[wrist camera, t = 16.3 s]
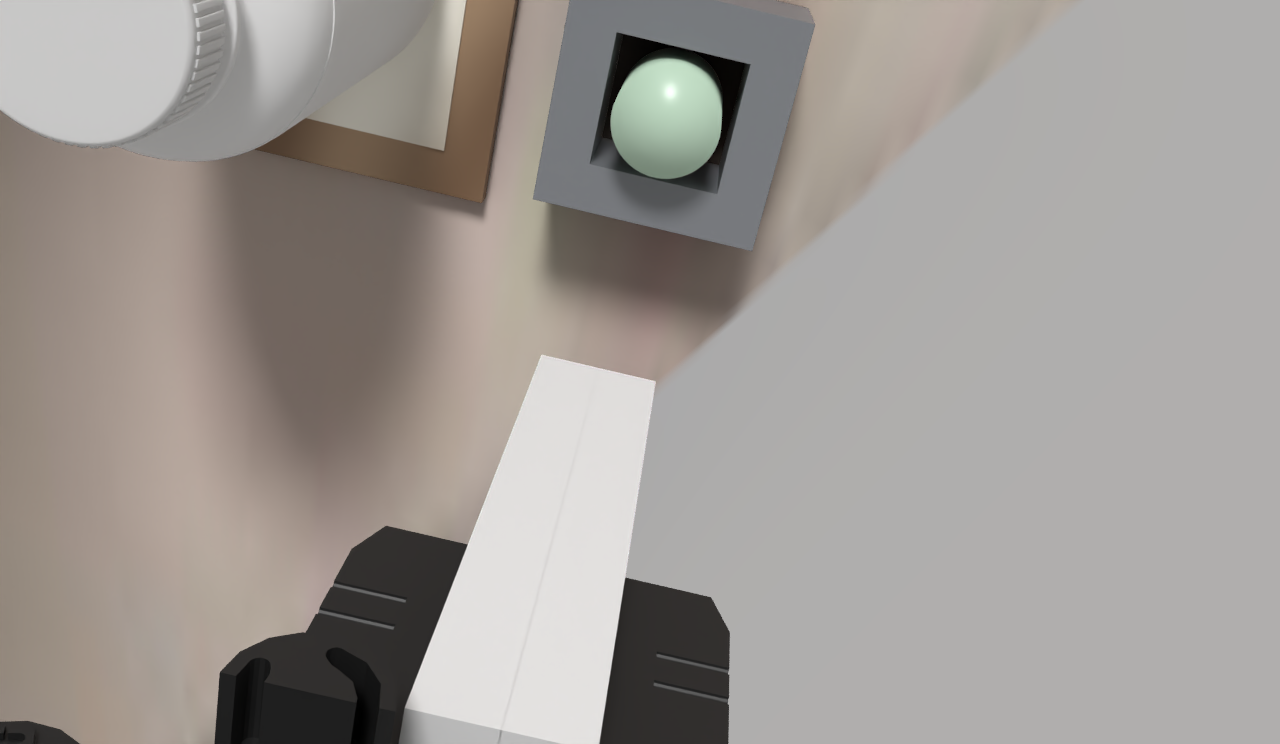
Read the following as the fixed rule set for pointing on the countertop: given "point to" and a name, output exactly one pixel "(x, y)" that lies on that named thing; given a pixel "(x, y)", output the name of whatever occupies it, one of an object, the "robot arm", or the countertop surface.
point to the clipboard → (420, 107)
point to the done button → (668, 114)
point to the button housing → (738, 187)
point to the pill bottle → (189, 68)
